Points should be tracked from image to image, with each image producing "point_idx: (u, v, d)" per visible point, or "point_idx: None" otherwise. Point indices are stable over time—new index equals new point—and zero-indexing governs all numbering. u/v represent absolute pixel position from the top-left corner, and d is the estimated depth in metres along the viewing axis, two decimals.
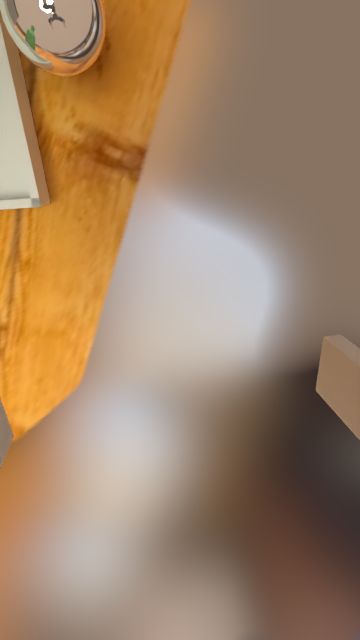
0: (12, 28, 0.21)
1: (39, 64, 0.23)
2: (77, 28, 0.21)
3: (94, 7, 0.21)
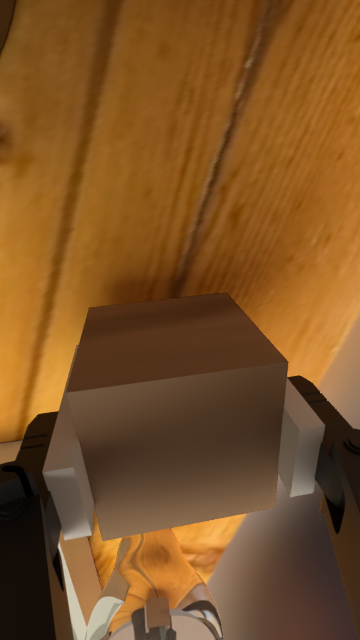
0: None
1: None
2: None
3: None
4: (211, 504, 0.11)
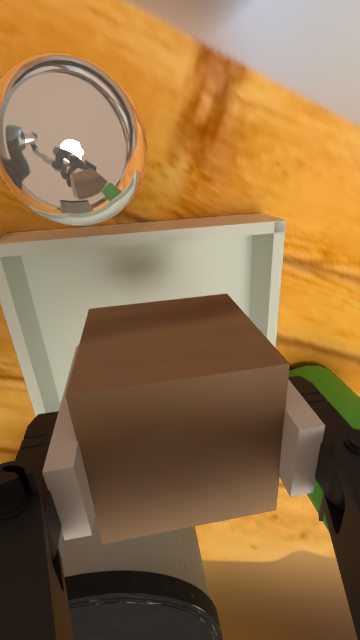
0: (107, 210, 0.15)
1: (141, 181, 0.15)
2: (98, 95, 0.12)
3: (61, 61, 0.12)
4: (212, 507, 0.11)
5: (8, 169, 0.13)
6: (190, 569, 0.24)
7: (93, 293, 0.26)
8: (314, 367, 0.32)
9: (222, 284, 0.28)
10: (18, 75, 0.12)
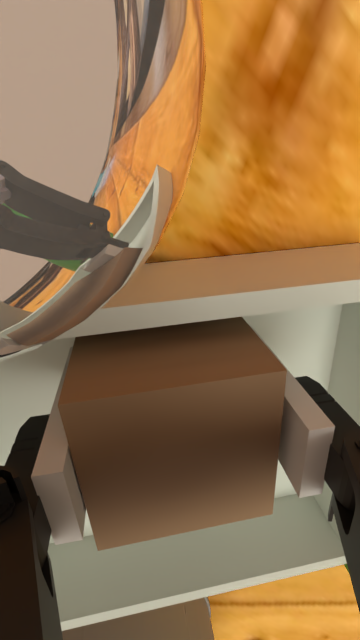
0: (38, 335, 0.03)
1: (176, 205, 0.04)
2: None
3: None
4: (208, 512, 0.11)
5: None
6: None
7: None
8: None
9: (287, 362, 0.16)
10: None
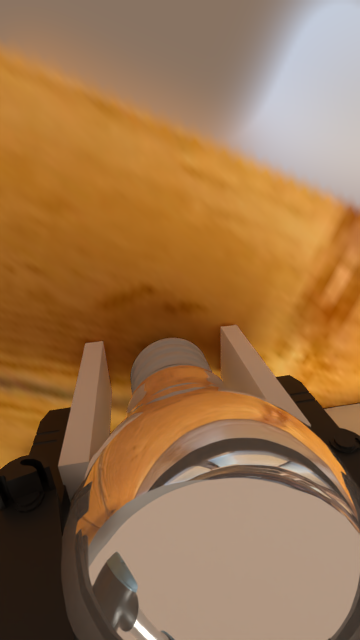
0: None
1: None
2: None
3: (278, 560, 0.05)
4: None
5: None
6: None
7: None
8: None
9: None
10: (174, 632, 0.04)
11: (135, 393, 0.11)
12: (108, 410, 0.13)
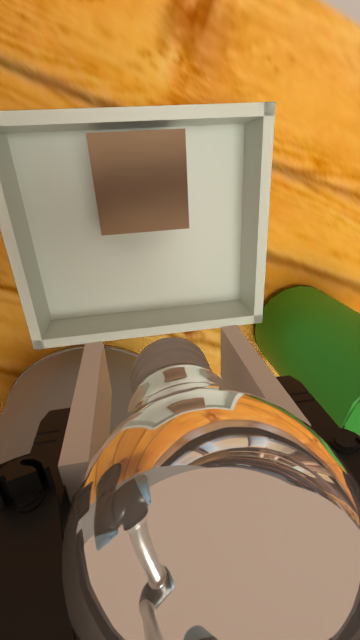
0: None
1: None
2: None
3: (280, 560, 0.05)
4: (155, 219, 0.22)
5: None
6: None
7: (82, 193, 0.26)
8: (307, 287, 0.32)
9: (214, 190, 0.27)
10: (177, 632, 0.04)
11: (135, 393, 0.11)
12: (108, 410, 0.13)
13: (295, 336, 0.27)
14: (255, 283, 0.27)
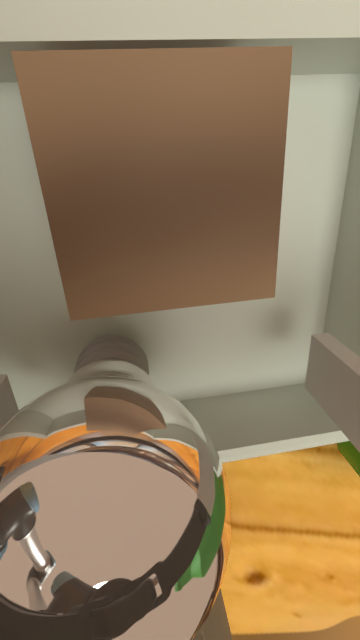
0: None
1: None
2: (170, 570, 0.06)
3: (97, 504, 0.06)
4: (199, 280, 0.09)
5: None
6: None
7: (43, 212, 0.13)
8: None
9: (291, 203, 0.15)
10: (5, 552, 0.06)
11: None
12: None
13: None
14: None
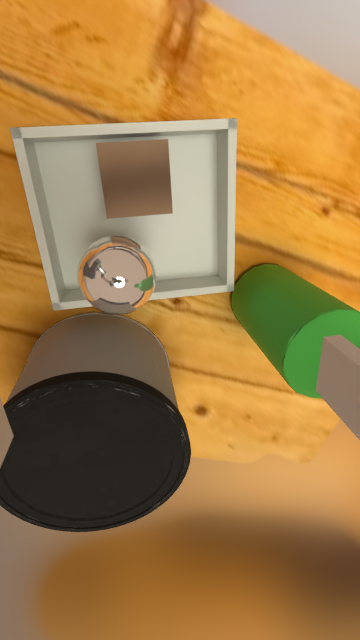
0: (135, 309, 0.29)
1: None
2: (135, 265, 0.26)
3: (118, 249, 0.26)
4: (147, 206, 0.29)
5: (89, 294, 0.27)
6: (166, 394, 0.31)
7: (91, 188, 0.33)
8: (273, 265, 0.39)
9: (194, 185, 0.35)
10: (98, 256, 0.26)
11: None
12: None
13: (258, 299, 0.34)
14: (227, 258, 0.35)
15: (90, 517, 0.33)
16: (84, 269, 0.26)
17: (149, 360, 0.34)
